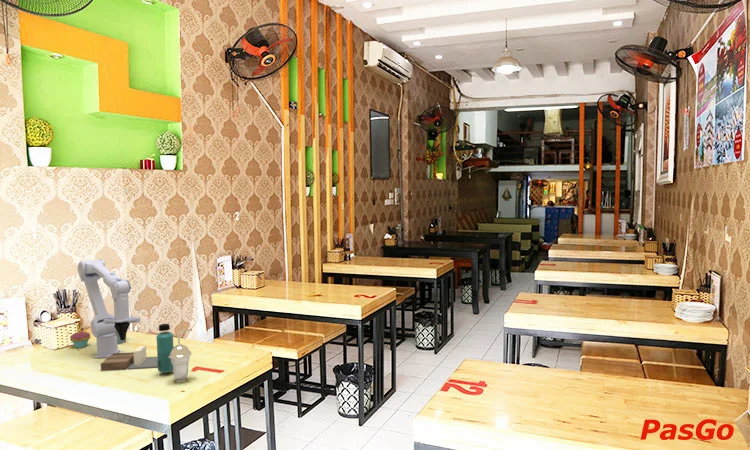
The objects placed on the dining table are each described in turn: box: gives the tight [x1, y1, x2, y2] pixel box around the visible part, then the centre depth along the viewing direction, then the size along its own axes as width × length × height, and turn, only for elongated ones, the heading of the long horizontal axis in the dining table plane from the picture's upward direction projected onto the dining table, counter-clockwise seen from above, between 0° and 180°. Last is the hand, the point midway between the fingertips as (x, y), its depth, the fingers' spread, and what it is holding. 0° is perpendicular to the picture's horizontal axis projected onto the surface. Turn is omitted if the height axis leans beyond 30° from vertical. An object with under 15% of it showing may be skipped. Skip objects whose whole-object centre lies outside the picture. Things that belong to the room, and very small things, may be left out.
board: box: [100, 351, 134, 372], centre depth 222 cm, size 14×10×3 cm
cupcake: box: [69, 323, 91, 349], centre depth 251 cm, size 9×8×12 cm
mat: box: [127, 356, 158, 370], centre depth 224 cm, size 14×12×1 cm
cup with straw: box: [168, 329, 193, 383], centre depth 202 cm, size 8×9×20 cm
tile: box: [133, 345, 147, 365], centre depth 223 cm, size 8×6×2 cm
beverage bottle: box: [155, 323, 174, 373], centre depth 210 cm, size 6×7×20 cm
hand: (123, 339), depth 227 cm, fingers closed
